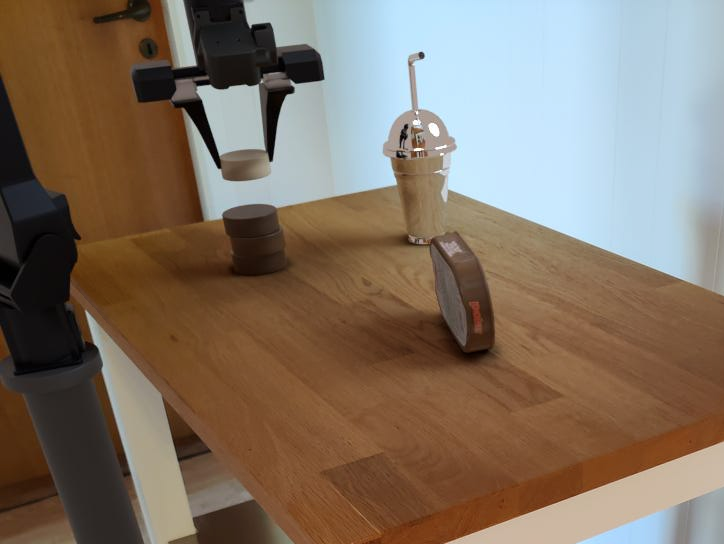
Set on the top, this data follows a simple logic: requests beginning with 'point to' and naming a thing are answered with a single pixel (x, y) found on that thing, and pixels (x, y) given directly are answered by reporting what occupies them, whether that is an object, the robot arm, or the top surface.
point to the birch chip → (245, 165)
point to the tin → (463, 292)
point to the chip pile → (255, 239)
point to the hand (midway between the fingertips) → (244, 164)
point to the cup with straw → (421, 166)
